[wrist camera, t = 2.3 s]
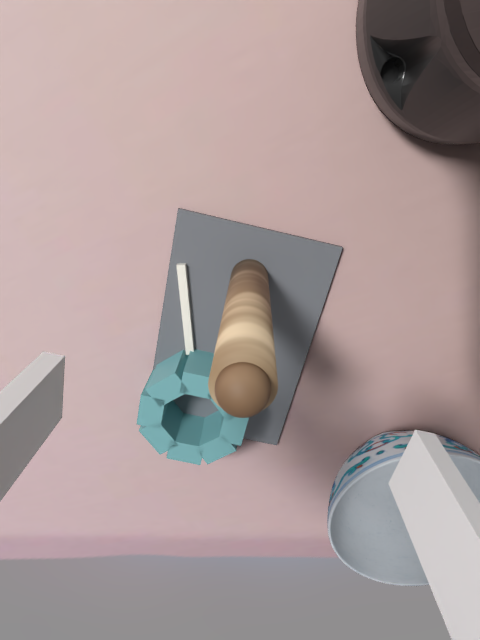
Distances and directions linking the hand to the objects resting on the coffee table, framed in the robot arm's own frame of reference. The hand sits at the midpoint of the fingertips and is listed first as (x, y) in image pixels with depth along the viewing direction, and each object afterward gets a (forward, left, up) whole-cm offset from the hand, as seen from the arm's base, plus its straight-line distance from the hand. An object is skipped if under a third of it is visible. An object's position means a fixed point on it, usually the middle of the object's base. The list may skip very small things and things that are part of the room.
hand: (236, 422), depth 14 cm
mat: (+6, 0, -19) cm, 20 cm away
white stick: (+4, -4, -18) cm, 19 cm away
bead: (+12, -2, -18) cm, 22 cm away
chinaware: (+15, +18, -19) cm, 30 cm away
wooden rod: (0, 0, -18) cm, 18 cm away
